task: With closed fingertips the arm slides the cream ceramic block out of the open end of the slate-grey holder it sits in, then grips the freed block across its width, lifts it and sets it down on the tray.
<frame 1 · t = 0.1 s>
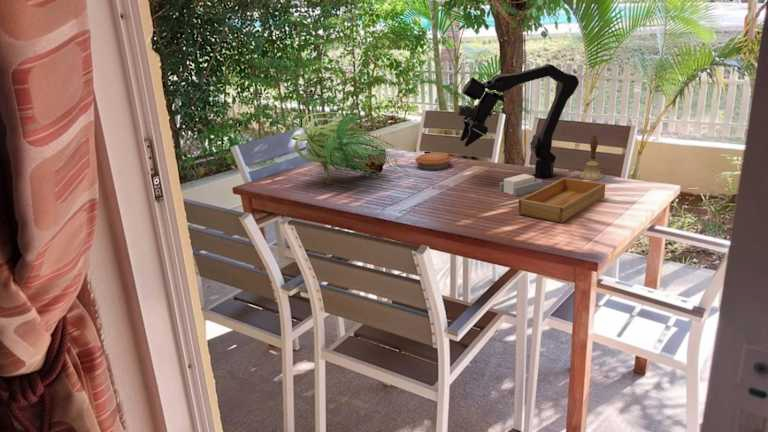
hand: (463, 143, 226), 15 cm above the table, tool tilted 35°, fingers open, 9 cm apart
holder: (520, 190, 217), on the table
pie: (433, 167, 255), on the table
hand bell: (591, 177, 227), on the table
block: (518, 191, 217), resting in holder
tray: (562, 207, 199), on the table
plant: (355, 183, 238), on the table
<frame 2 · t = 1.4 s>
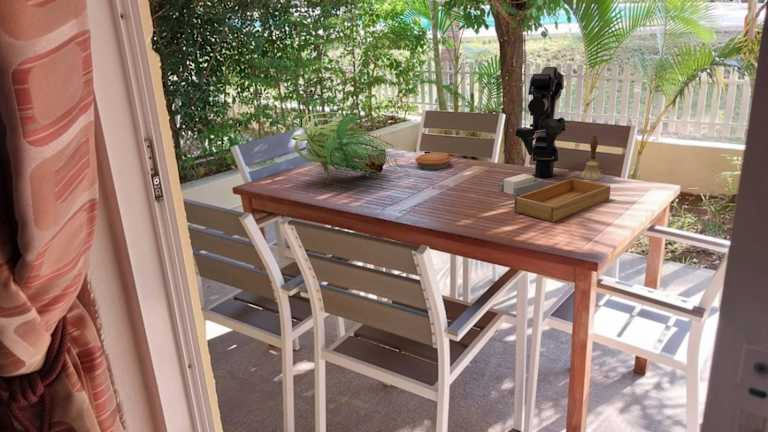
hand: (539, 153, 217), 12 cm above the table, tool pointing down, fingers open, 9 cm apart
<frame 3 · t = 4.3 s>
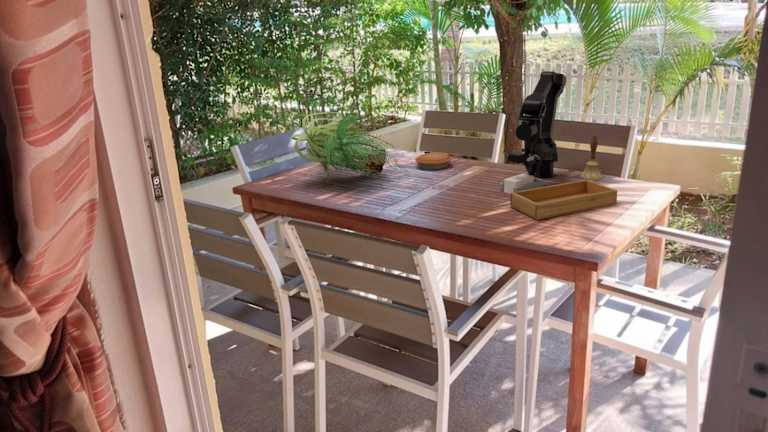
hand: (531, 177, 218), 4 cm above the table, tool pointing down, fingers closed
block: (518, 191, 217), resting in holder, touching gripper
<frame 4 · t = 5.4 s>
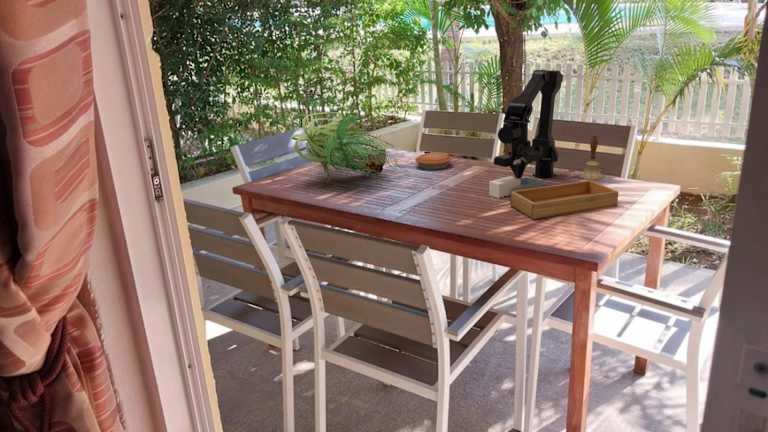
hand: (518, 180, 215), 4 cm above the table, tool pointing down, fingers closed
block: (504, 193, 214), on the table, touching gripper
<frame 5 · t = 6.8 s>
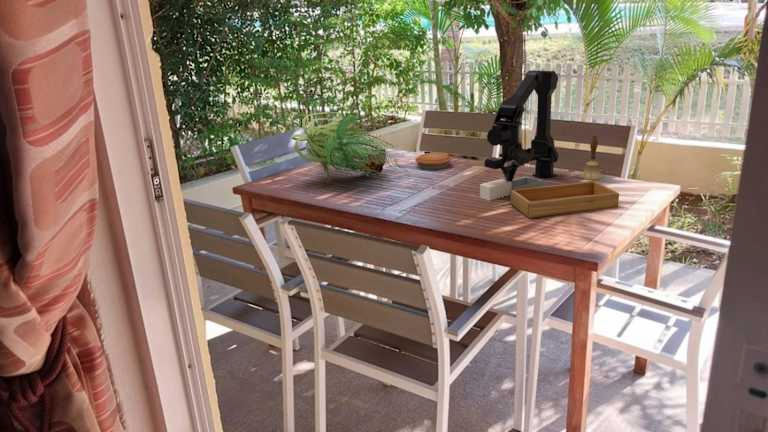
hand: (509, 183, 213), 4 cm above the table, tool pointing down, fingers closed
block: (495, 196, 212), on the table
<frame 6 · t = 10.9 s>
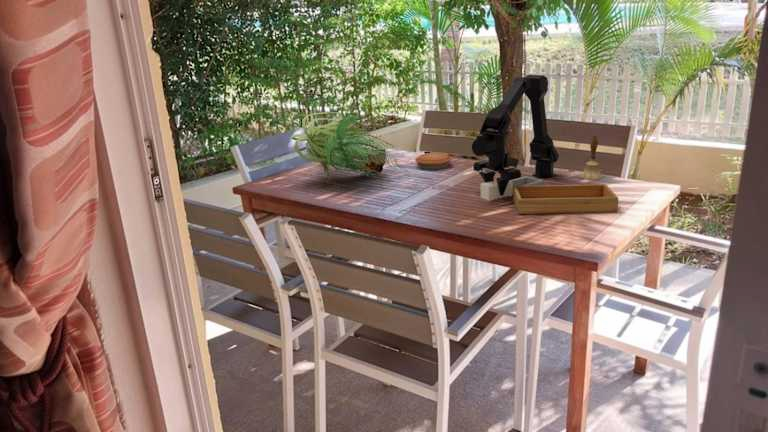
hand: (496, 193, 211), 1 cm above the table, tool pointing down, fingers closed on block, 5 cm apart
block: (496, 196, 212), on the table, touching gripper
when the fingers open (6 cm above the table, at t = 14.3 s): block stays where it is, resting on tray.
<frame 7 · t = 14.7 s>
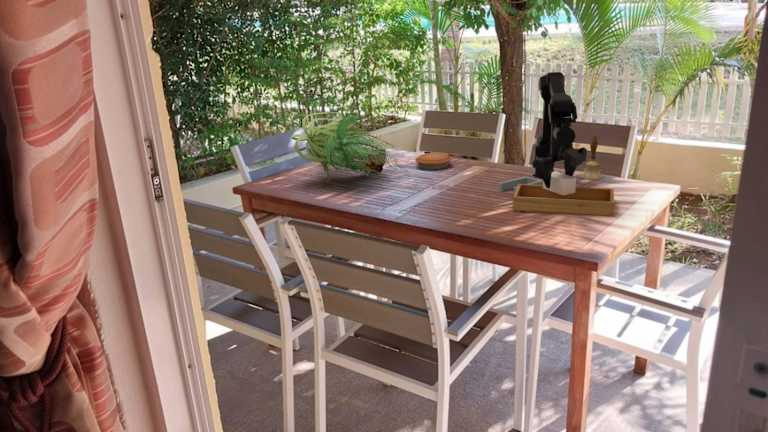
hand: (558, 185, 198), 6 cm above the table, tool pointing down, fingers open, 9 cm apart
block: (558, 190, 198), point 5 cm above the table, touching tray
tray: (562, 209, 198), on the table, touching block
everything else where it was.
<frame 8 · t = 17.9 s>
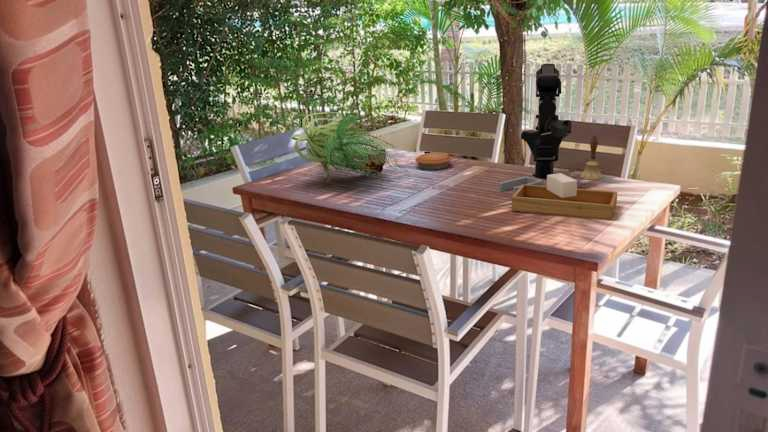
hand: (545, 156, 213), 12 cm above the table, tool pointing down, fingers open, 9 cm apart
block: (561, 192, 196), point 5 cm above the table, touching tray
tray: (563, 210, 196), on the table, touching block
everything else where it was.
at the end: block 1.5 cm from the tray (horizontally); block touching tray; the gripper is holding nothing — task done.
